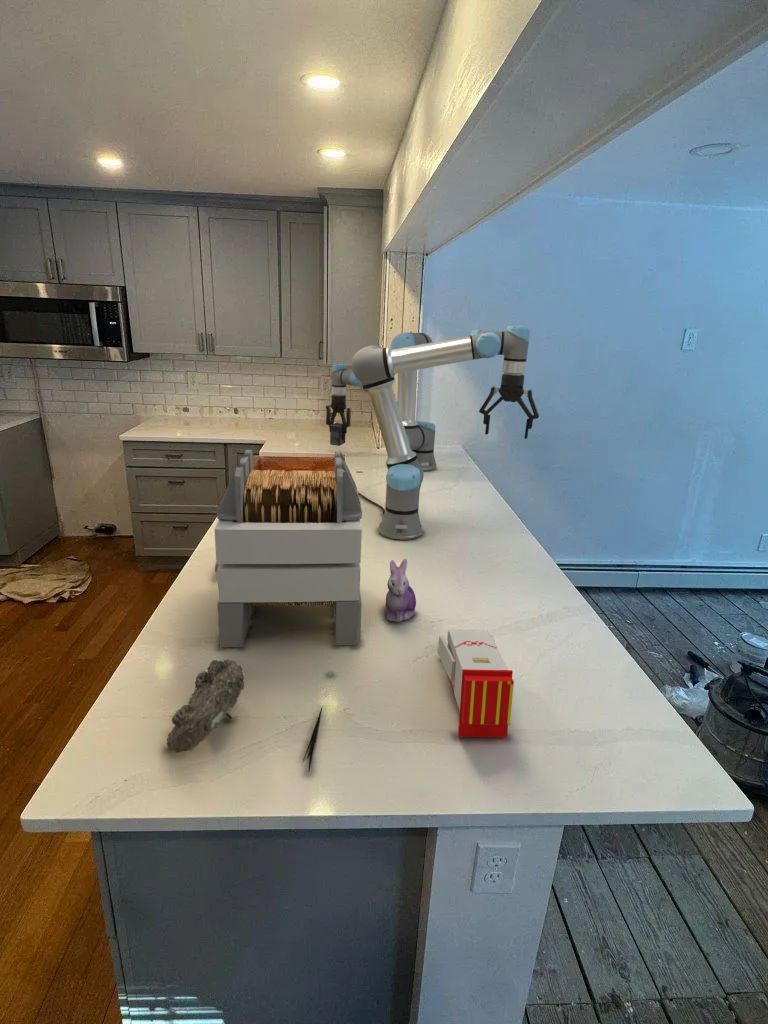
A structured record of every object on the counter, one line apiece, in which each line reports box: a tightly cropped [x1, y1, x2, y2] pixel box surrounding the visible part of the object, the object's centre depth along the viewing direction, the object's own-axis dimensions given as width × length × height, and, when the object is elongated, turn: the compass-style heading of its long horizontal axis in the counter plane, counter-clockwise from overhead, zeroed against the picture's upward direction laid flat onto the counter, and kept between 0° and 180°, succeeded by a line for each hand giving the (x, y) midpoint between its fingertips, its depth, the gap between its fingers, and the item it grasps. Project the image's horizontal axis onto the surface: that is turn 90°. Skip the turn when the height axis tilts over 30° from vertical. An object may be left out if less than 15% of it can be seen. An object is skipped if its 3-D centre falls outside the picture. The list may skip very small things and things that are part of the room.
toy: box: [437, 628, 515, 738], centre depth 117 cm, size 12×13×30 cm
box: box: [329, 422, 346, 447], centre depth 300 cm, size 8×6×11 cm
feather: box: [301, 673, 332, 771], centre depth 108 cm, size 2×28×2 cm
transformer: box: [214, 448, 363, 649], centre depth 139 cm, size 34×33×41 cm
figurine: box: [384, 558, 417, 623], centre depth 145 cm, size 9×10×15 cm
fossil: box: [166, 658, 245, 754], centre depth 106 cm, size 22×10×15 cm
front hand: (506, 435), depth 199 cm, fingers open, 13 cm apart
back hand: (337, 438), depth 301 cm, fingers closed on box, 6 cm apart
